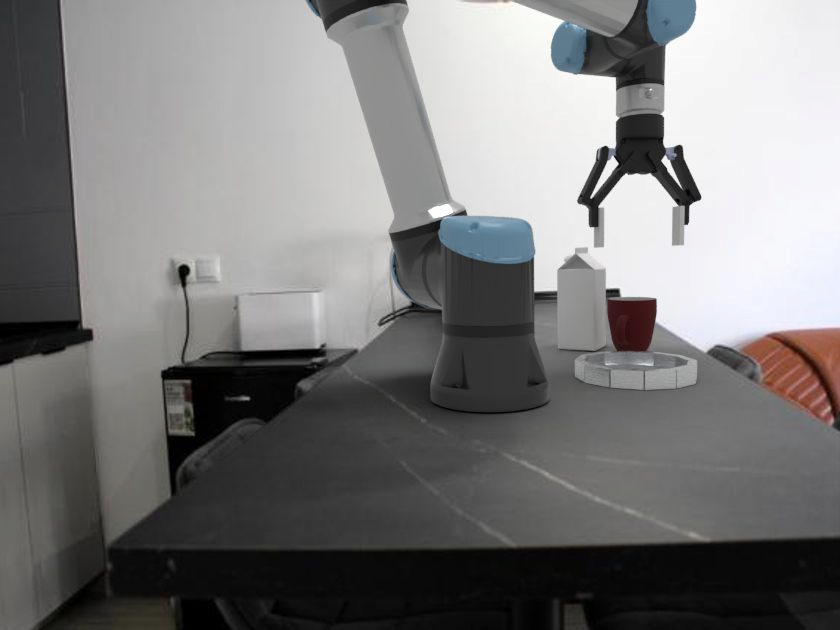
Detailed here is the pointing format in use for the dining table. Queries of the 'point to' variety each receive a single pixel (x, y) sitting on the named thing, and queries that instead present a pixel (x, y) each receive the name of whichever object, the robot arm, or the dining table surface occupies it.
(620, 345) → the mug
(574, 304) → the milk carton
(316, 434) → the dining table surface
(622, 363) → the round white tray
